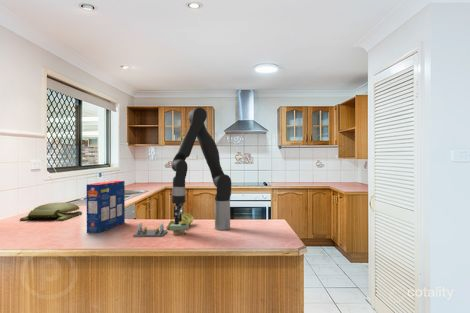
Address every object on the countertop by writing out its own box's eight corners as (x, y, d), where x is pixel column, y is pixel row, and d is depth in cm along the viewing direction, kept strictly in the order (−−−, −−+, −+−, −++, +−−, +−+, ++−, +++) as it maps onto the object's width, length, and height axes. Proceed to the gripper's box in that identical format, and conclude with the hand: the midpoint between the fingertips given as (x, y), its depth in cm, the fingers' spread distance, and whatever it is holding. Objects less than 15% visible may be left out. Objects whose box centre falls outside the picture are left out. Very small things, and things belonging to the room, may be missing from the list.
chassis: (167, 231, 190) (167, 221, 190) (162, 236, 178) (162, 225, 178) (139, 231, 191) (139, 221, 191) (133, 236, 179) (133, 225, 179)
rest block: (185, 233, 187) (185, 227, 187) (183, 234, 183) (183, 229, 183) (174, 233, 187) (174, 227, 187) (173, 234, 184) (173, 229, 184)
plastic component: (183, 227, 193) (169, 219, 195) (179, 237, 194) (165, 229, 196) (196, 218, 212) (183, 210, 214) (191, 227, 213) (179, 220, 215)
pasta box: (113, 222, 216) (113, 180, 216) (124, 223, 215) (124, 180, 215) (86, 232, 189) (86, 184, 189) (99, 233, 187) (98, 184, 187)
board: (188, 227, 188) (188, 222, 188) (187, 229, 182) (187, 224, 182) (171, 227, 188) (171, 222, 188) (169, 229, 182) (169, 224, 182)
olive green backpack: (62, 221, 221) (62, 207, 221) (17, 221, 221) (17, 207, 221) (86, 212, 256) (86, 200, 256) (48, 212, 256) (48, 200, 256)
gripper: (183, 196, 178) (182, 225, 178) (187, 193, 192) (186, 220, 192) (169, 195, 178) (168, 225, 178) (174, 193, 193) (174, 220, 192)
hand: (178, 222), depth 185 cm, fingers open, 8 cm apart
